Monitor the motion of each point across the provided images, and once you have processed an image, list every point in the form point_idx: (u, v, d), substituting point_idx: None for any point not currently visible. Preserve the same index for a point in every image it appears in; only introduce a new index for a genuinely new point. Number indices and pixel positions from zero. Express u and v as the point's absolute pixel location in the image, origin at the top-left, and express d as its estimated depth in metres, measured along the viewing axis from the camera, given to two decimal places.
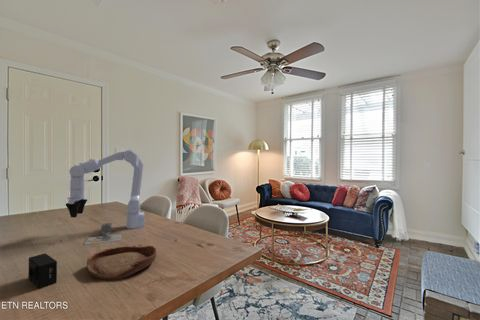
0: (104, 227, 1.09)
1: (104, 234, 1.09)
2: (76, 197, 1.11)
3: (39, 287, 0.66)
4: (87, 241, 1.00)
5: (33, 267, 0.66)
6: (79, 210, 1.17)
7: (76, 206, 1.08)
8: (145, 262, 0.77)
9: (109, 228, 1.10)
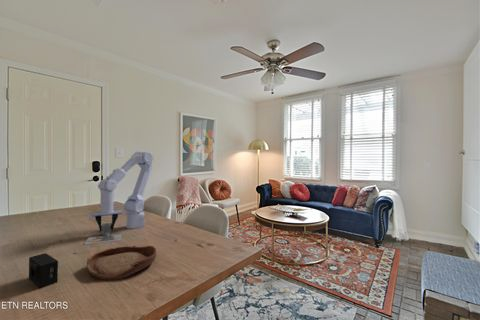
0: (104, 227, 1.09)
1: (104, 234, 1.09)
2: (100, 211, 1.09)
3: (40, 286, 0.66)
4: (87, 241, 1.00)
5: (34, 267, 0.66)
6: None
7: (96, 220, 1.07)
8: (145, 262, 0.77)
9: (109, 228, 1.10)
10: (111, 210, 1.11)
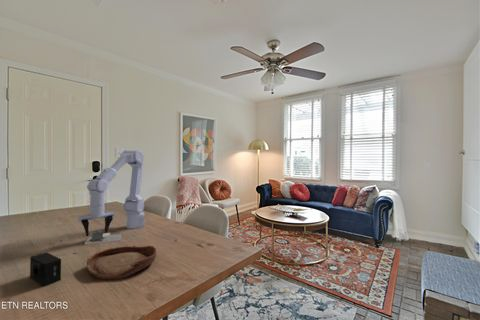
0: (96, 235, 1.01)
1: None
2: (90, 214, 1.01)
3: (44, 284, 0.67)
4: (87, 241, 1.00)
5: (38, 265, 0.67)
6: (105, 228, 1.06)
7: (83, 225, 0.98)
8: (145, 262, 0.77)
9: (101, 235, 1.02)
10: (102, 212, 1.03)
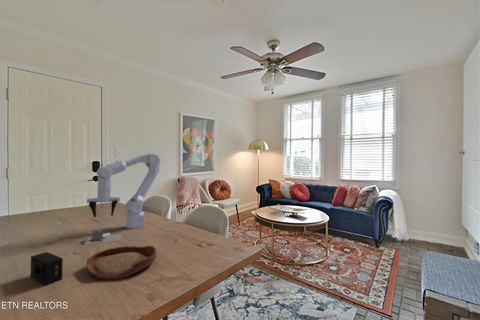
0: (96, 235, 1.01)
1: None
2: (97, 198, 1.13)
3: (46, 284, 0.68)
4: (87, 241, 1.00)
5: (40, 264, 0.68)
6: None
7: None
8: (145, 262, 0.77)
9: (101, 235, 1.02)
10: (107, 197, 1.13)
